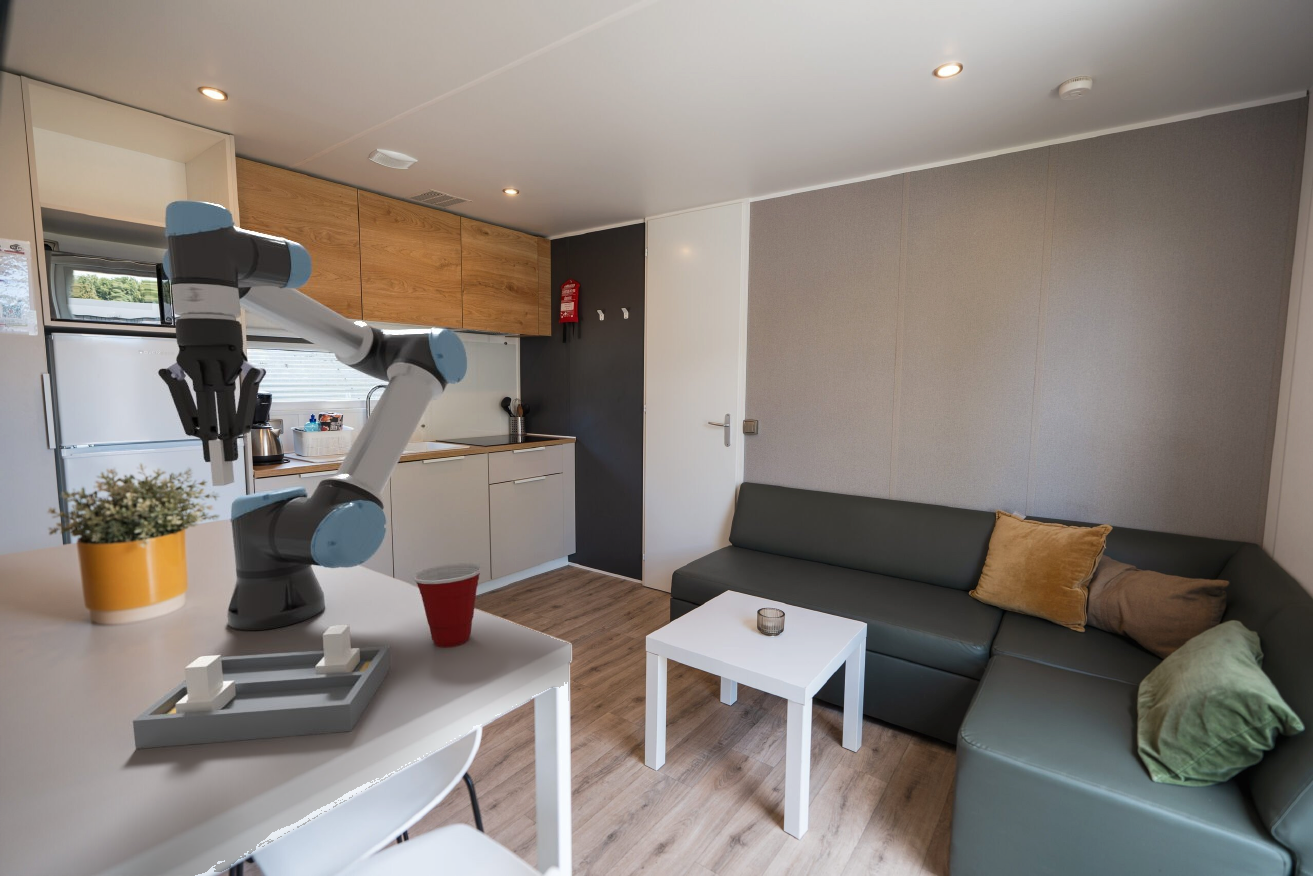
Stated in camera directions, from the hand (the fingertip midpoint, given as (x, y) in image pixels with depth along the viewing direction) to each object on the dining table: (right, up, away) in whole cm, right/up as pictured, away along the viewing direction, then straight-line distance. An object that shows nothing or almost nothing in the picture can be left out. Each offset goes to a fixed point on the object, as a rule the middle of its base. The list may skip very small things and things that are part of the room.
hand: (223, 483), depth 86 cm
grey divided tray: (+12, -29, -7) cm, 32 cm away
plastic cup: (+29, -27, +13) cm, 41 cm away
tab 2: (+18, -26, -2) cm, 32 cm away
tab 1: (+6, -27, -11) cm, 30 cm away
